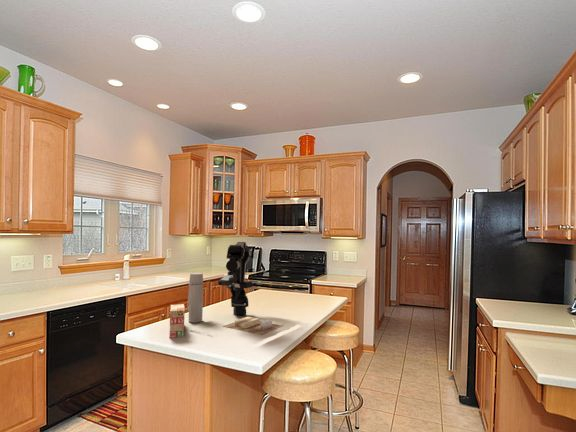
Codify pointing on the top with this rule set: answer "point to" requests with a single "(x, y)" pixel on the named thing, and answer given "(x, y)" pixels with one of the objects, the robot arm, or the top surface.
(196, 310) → the water bottle
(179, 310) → the stack of blocks
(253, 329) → the bench board
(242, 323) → the birch plate
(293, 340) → the top surface
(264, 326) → the bench dog
